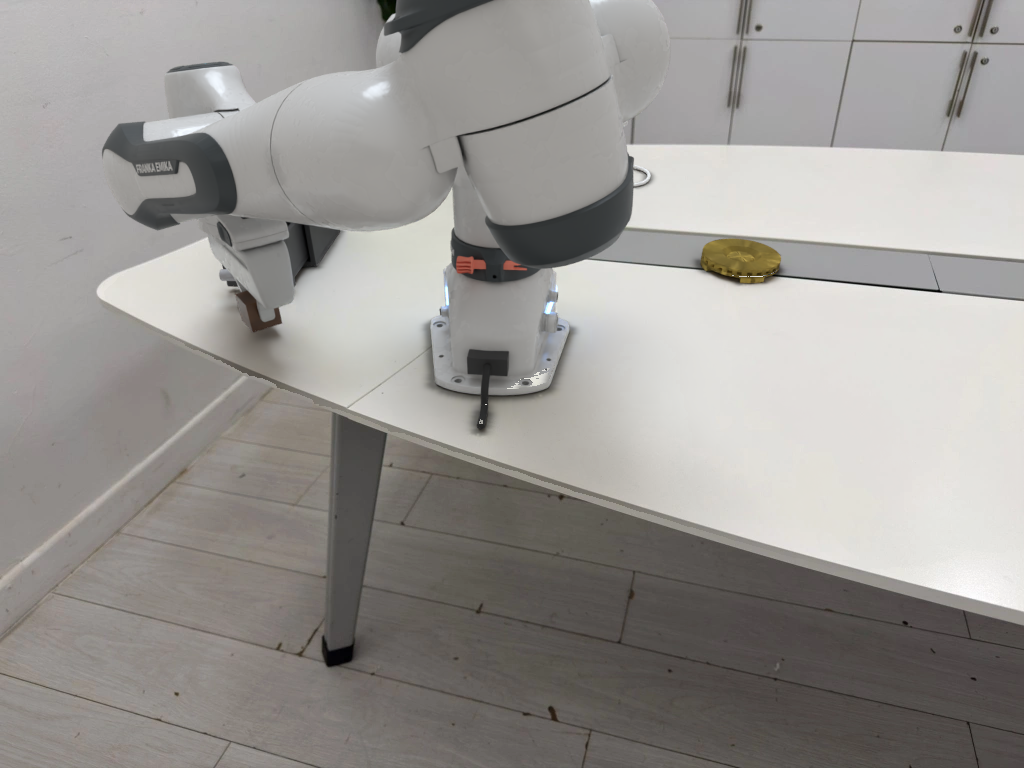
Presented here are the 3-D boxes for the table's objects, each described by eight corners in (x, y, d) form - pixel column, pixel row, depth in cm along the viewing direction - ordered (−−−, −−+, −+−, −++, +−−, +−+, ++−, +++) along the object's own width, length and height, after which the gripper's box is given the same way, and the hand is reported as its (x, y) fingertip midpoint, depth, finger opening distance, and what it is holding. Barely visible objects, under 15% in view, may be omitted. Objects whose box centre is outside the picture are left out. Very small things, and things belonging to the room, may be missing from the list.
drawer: (283, 302, 95) (273, 254, 91) (215, 300, 96) (202, 252, 92) (319, 250, 110) (312, 207, 106) (260, 248, 110) (250, 205, 106)
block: (282, 323, 89) (276, 296, 87) (252, 332, 87) (245, 305, 85) (270, 311, 92) (264, 285, 89) (241, 320, 90) (234, 293, 87)
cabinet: (316, 266, 107) (306, 211, 102) (248, 265, 107) (234, 210, 102) (340, 231, 119) (332, 180, 114) (278, 229, 119) (268, 178, 114)
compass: (756, 290, 101) (759, 277, 100) (686, 266, 107) (688, 254, 106) (790, 265, 108) (793, 252, 107) (722, 244, 115) (725, 232, 113)
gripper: (181, 190, 85) (209, 288, 93) (237, 243, 72) (264, 351, 80) (231, 180, 89) (254, 276, 97) (293, 229, 75) (314, 334, 83)
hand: (259, 310), depth 88 cm, fingers closed on block, 4 cm apart
